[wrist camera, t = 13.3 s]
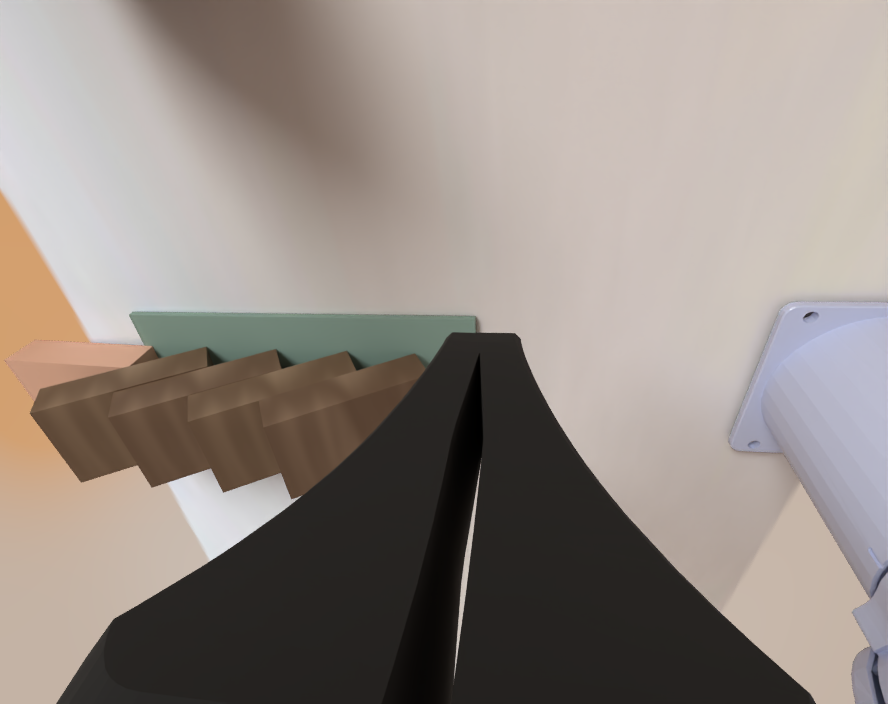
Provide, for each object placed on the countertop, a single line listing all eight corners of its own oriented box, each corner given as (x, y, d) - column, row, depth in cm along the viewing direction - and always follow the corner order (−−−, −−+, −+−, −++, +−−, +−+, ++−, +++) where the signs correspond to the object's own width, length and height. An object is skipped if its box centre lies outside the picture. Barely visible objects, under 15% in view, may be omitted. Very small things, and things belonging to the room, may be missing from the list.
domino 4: (429, 374, 21) (263, 427, 19) (436, 445, 23) (291, 499, 21) (414, 353, 22) (258, 400, 20) (423, 422, 25) (285, 470, 23)
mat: (475, 316, 21) (475, 319, 21) (478, 444, 26) (478, 448, 25) (133, 311, 23) (128, 315, 23) (192, 430, 28) (189, 434, 28)
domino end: (127, 368, 23) (4, 360, 24) (164, 434, 25) (51, 424, 26) (152, 346, 24) (34, 339, 25) (185, 411, 27) (76, 402, 28)
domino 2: (281, 368, 22) (107, 417, 20) (303, 437, 24) (151, 487, 22) (275, 348, 23) (113, 392, 21) (297, 416, 26) (154, 460, 24)
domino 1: (207, 366, 22) (29, 413, 20) (236, 434, 25) (81, 482, 23) (206, 346, 24) (40, 388, 22) (233, 412, 26) (87, 456, 24)
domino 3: (356, 371, 21) (187, 421, 19) (371, 441, 24) (223, 492, 22) (346, 350, 23) (187, 395, 21) (361, 419, 25) (221, 465, 23)
